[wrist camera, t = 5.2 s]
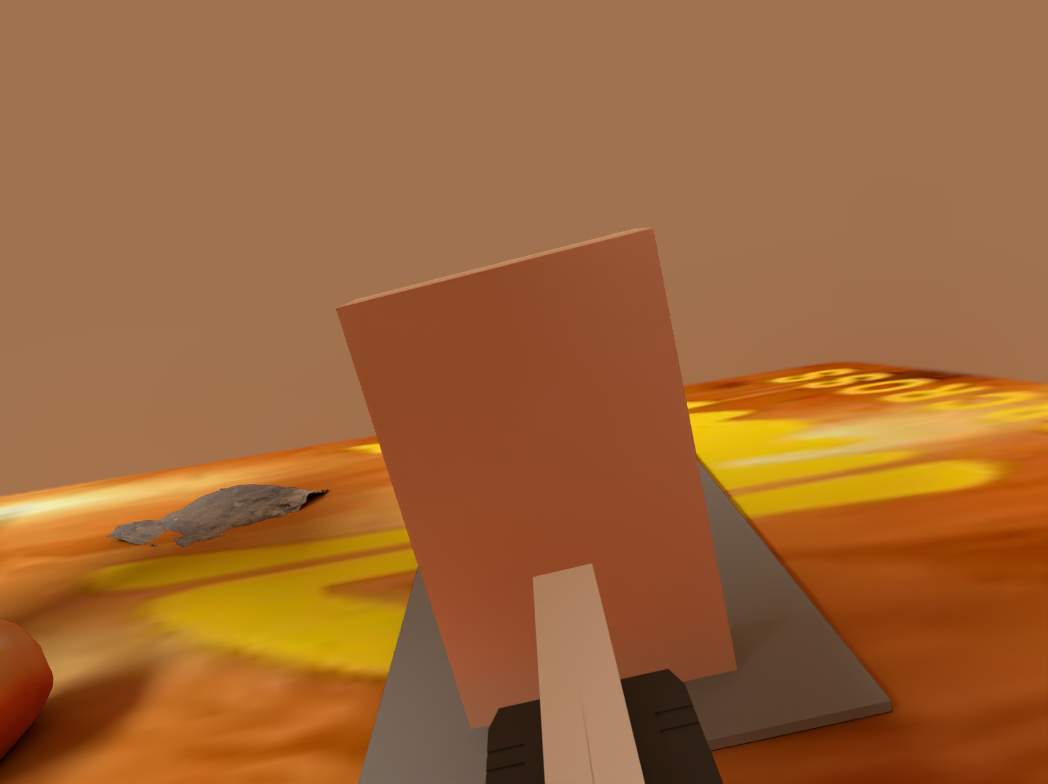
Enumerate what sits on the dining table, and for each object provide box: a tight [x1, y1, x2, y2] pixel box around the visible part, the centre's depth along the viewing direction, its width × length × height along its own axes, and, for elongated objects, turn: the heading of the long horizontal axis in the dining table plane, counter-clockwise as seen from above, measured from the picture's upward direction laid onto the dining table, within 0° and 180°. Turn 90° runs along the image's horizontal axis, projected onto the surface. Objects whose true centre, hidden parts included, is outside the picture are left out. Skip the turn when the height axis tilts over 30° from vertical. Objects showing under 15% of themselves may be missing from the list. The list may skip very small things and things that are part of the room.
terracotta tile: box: [336, 228, 737, 729], centre depth 23 cm, size 2×10×16 cm, turn 91°
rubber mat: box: [358, 461, 892, 784], centre depth 32 cm, size 24×18×1 cm
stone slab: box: [106, 484, 328, 547], centre depth 56 cm, size 18×2×10 cm
